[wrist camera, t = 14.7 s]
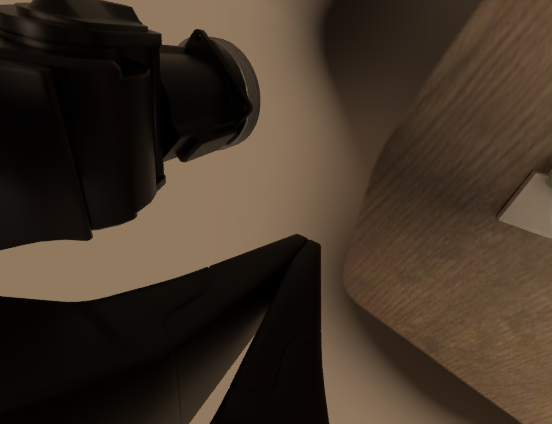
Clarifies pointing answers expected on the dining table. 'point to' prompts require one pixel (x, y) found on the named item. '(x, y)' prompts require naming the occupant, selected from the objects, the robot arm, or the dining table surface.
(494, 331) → the dining table surface
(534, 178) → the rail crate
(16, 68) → the robot arm
